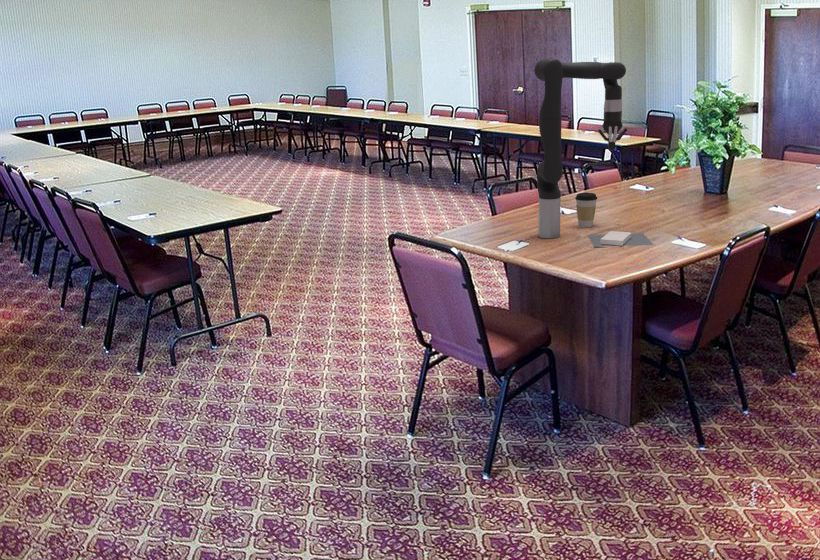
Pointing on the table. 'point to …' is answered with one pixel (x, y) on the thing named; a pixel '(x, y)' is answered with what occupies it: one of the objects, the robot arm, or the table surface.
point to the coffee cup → (585, 209)
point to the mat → (634, 240)
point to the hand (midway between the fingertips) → (611, 150)
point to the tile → (615, 238)
